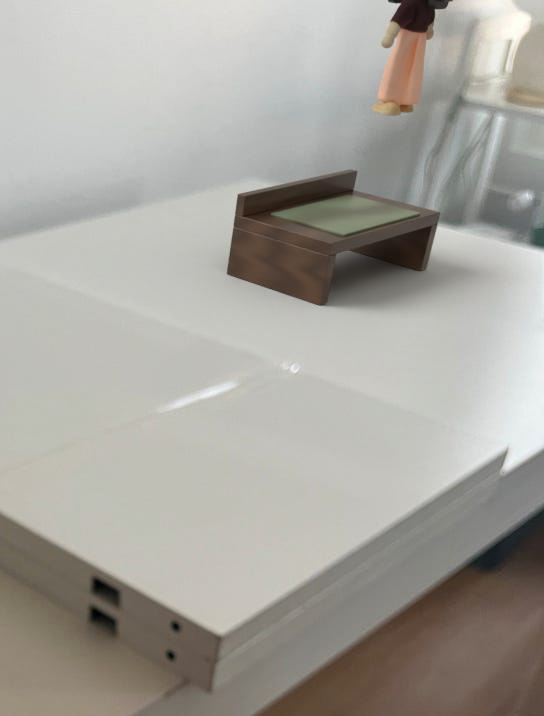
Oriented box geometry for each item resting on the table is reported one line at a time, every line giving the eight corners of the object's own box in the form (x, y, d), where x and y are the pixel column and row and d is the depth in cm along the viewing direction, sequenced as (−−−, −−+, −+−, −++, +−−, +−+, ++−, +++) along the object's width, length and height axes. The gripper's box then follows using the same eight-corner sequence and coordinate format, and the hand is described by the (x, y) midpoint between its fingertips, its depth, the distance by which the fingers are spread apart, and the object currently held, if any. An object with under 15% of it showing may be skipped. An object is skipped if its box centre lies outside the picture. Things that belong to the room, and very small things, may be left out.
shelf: (426, 269, 113) (446, 192, 109) (320, 305, 102) (336, 221, 97) (335, 242, 120) (350, 169, 115) (226, 273, 109) (237, 193, 104)
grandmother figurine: (402, 120, 89) (444, -56, 81) (359, 113, 91) (397, -61, 83) (428, 108, 94) (470, -59, 87) (387, 101, 96) (425, -63, 88)
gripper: (369, -267, 79) (322, -3, 89) (543, -270, 71) (470, 18, 82) (420, -256, 83) (370, -6, 94) (589, -258, 76) (514, 15, 86)
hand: (417, 4), depth 88 cm, fingers closed on grandmother figurine, 3 cm apart
